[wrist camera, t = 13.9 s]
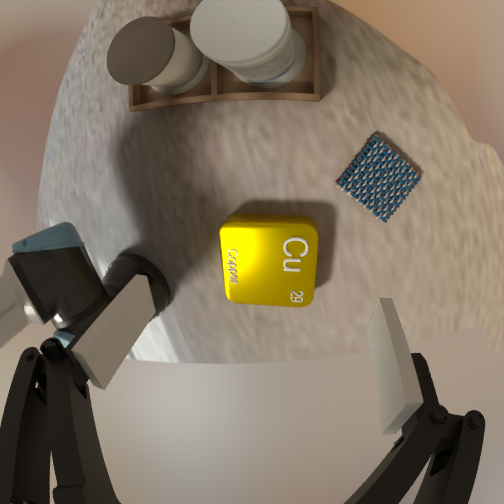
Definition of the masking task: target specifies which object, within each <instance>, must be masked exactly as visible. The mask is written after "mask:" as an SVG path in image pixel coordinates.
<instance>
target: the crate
mask: <svg viewBox="0 0 504 504" xmlns="http://www.w3.org/2000/svg"><path fill="white" fill-rule="evenodd" d="M284 7H285V8H286V10H287V12H288V15H289V18H290V22H291V27H292V33H293V38H294V44H295V51H296V54H295V60H294V62H293V65H292V66H291V68H290V69H289V70H288V71H287V72H286V73H285V74H284V75H283V76H281V77H279V78H277V79H275V80H272V81H268V82H253V81H249V80H246V79H244V78H242V77H240V76H238V75H237V74H235V73H233V72H232V71H230V70H229V69H227V68H225V67H223V66H222V65H220V64H218V63H217V62H215V61H213V60H212V59H210V58H208V57H207V56H206V55H204V54H203V62H202V66H201V69H200V71H199V72H198V74H197V75H196V76H195V78H194V79H193V80H192V81H190V82H189V83H187V84H186V85H184V86H181V87H178V88H164V87H157V86H149V85H128V89H129V112H131V111H142V110H148V109H154V108H160V107H167V106H174V105H182V104H191V103H201V102H214V101H230V100H298V101H315V102H319V101H320V39H319V18H318V7H303V6H284ZM191 18H192V15H188V16H184V17H179V18H175V19H170V20H166V21H165V22H166V23H167V24H169V25H170V27H172V28H174V29H176V30H177V31H179V32H181V33H183V34H184V35H186V36H188V37H189V38H191V39H192V37H191V34H190V22H191Z"/></svg>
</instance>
